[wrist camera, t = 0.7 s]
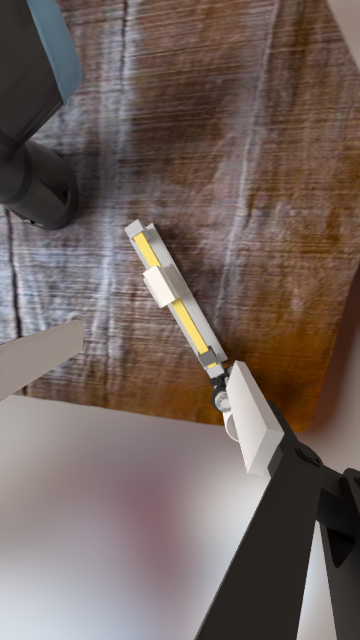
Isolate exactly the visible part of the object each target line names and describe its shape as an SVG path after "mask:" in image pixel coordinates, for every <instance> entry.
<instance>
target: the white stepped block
mask: <svg viewBox="0 0 360 640" xmlns="http://www.w3.org/2000/svg"><path fill="white" fill-rule="evenodd" d="M143 274H144V276H145V278H144V279H143V280H144V282H145V284H146V285H147V287H148V289H149V291H150V292H151V294H152V296H153V297H154V299H155V301H156V302H157V304H158V306H159V308H161V307H164V306H165V305H167V304H169V303H170V302H172V301H174V300H176V299H177V298H179V297H181V296H182V295H184V294H186V293H187V292H189V291H188V290H187V288H186V286H185V284H184V283H183V281H182V279H181V277H180V275H179V274H178V272H177V270H176V268H175V266H174V265H172V264H171V263H168V264H166V265H165V266H163V267H160V266H157V265H155V266H153V267H152V268H150V269H149V270H147V271H145V272H144V273H143Z"/></svg>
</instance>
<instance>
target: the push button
mask: <svg viewBox="0 0 360 640" xmlns="http://www.w3.org/2000/svg"><path fill="white" fill-rule="evenodd" d="M231 368H232V369H233V366H231V367H230V368H229V369H227V370H226V369H224V373H222V374H220V375H218V376H216V377H213V378H210V384H211V385H212V386H213V387H214V391H213V392H212V395H211V403H212V405H213V407H214V408H215V409H216V410H218V411H220V412H225V413H226V412H230V411H231V407H230V403H229V399H228V395H227V391H226V386H227V384H228V381H229V378H230V375H231V372H232V369H231ZM214 397H216V398H215V399H214Z"/></svg>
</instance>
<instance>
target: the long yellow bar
mask: <svg viewBox="0 0 360 640" xmlns="http://www.w3.org/2000/svg"><path fill="white" fill-rule="evenodd" d="M133 238H134V240H135V241H136V243H137V245H138V247H139V248H140V250H141V252H142V254H143V255H144V257H145V259H146V261H147V262H148V264H149V266H150V267H151V268H152V267H153V266H155V265H157V266H160V267H162V265H161V263H160V261H159V259H158V258H157V256H156V254H155V252H154V251H153V249H152V247H151V245H150V244H149V242H148V240H147V238H146V237H145V235H144V234H143V233H142V232H140V233H139V234H137V235H136V236H135V237H133ZM171 304H172V306H173V307H174V309H175V311H176V313H177V314H178V316H179V318H180V319H181V321H182V323H183V325H184V326H185V328H186V330H187V332H188V333H189V335H190V337H191V339H192V340H193V342H194V344H195V345H196V347H197V349H198V358H199V360H200V361H201V363H202V365H203V366H204V367H206V366H208V368H212V367H214V366H216V365H217V363H216V362H217V356H216V354H215V352H214V350H213V348H212V346H211V345H210V346H207V344H206V342H205V341H204V339H203V337H202V335H201V334H200V332H199V330H198V328H197V327H196V325H195V323H194V321H193V319H192V318H191V316H190V314H189V312H188V311H187V309H186V307H185V305H184V304H183V302H182V300H181V298H180V297H179V298H177V299H176V300H174V301H172V302H171Z"/></svg>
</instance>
